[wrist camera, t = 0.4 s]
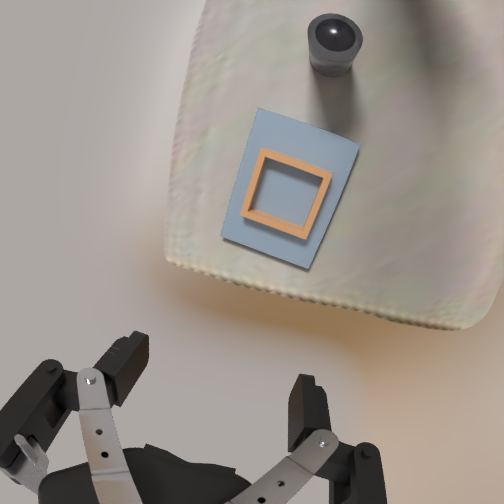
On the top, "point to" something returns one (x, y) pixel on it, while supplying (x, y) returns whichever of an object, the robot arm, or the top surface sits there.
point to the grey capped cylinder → (333, 43)
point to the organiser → (287, 187)
